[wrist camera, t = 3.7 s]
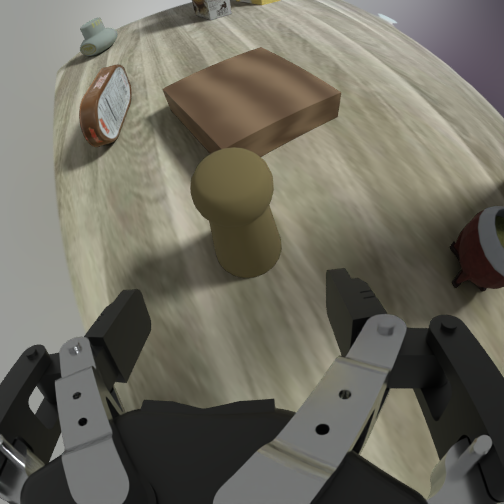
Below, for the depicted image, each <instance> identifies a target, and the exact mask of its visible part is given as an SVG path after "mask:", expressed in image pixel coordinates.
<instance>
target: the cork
mask: <svg viewBox="0 0 504 504" xmlns="http://www.w3.org/2000/svg"><path fill="white" fill-rule="evenodd" d="M190 189H191V196H192V199H193V203H194V205H195V207H196V208H197V210H198V211H199V212H200V213H201V215H202V216H203V217H204V218H206V219H207V220H209V223H210V227H211V232H212V237H213V242H214V247H215V252H216V255H217V258H218V261H219V263H220V264H221V266H222V267H223V268H224V269H225V270H226V271H227V272H229V273H231V274H232V275H234V276H238V277H242V278H250V277H257V276H259V275H262V274H265V273H266V272H267V271H268V270H270V269H271V268H272V267H273V266H274V265H275V263H276V262H277V260H278V259H279V256H280V252H281V239H280V236H279V233H278V230H277V227H276V224H275V221H274V218H273V215H272V212H271V209H270V206H269V204H270V201H271V198H272V195H273V191H274V189H273V176H272V173H271V171H270V169H269V168H268V166H267V164H266V162H265V161H264V160H263V159H262V158H261V157H259V156H258V155H257V154H255V153H254V152H252V151H249V150H247V149H243V148H236V147H233V148H224V149H221V150H218V151H215V152H213V153H211V154H210V155H208V156H207V157H205V158H204V159H203V160H202V161H201V162H200V163H199V164H198V166H197V168H196V170H195V172H194V174H193V176H192V178H191V188H190Z"/></svg>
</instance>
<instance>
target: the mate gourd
mask: <svg viewBox="0 0 504 504" xmlns="http://www.w3.org/2000/svg"><path fill="white" fill-rule="evenodd" d="M450 249H451V250H452V252H453V253H454V254H455V256H456V257H457V258H458V260H459V261H460V264H461V267H462V270H461V271H460V272H459V274H458V275H457V276H456V277H455V279H454V280H453V281H452V285H453V286H454V287H455V288H457V287H458V286H459V285H460V284H461V283H462V282H464V281H467V280H469V281H471V282H473V283H474V284H476V285H477V286H478V288H479V289H480V290H481V292H482V291H485V290H486V289H487V288H491V289H497V288H501V287H504V207H502V206H493V207H489V208H486V209H485V210H483V211H481V212H479V213H478V214H476V215H475V216H474V218H473V219H472V220H471V221H470V222H469V223H468V224H467V225H466V226H465V228H464V229H463V230H462V231H461V233H460V235H459V237H458V239H457V241H456V243H455V242H453V243H452V244H451V246H450Z"/></svg>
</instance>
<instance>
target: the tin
mask: <svg viewBox="0 0 504 504" xmlns="http://www.w3.org/2000/svg"><path fill="white" fill-rule="evenodd" d="M130 103H131V85H130V82H129V80H128V77H127V74H126V72H125V69H124V67H123V66H121V65H113V66H110V67H105V68H102V69H101V70H100V71H99V73H98V74H97V76H96V77H95V79H94V81H93V82H92V84H91V85H90V87H89V89H88V90H87V92H86V93H85V95H84V97H83V98H82V101H81V104H80V111H79V118H80V125H81V129H82V132H83V135H84V137H85V138H86V140H87V141H88V143H89V144H90V145H92V146H94V147H100V146H102V145H105V144H109V143H112V142H114V141H115V140H116V139H117V138H118V136H119V133H120V130H121V127H122V125H123V122H124V119H125V117H126V114H127V111H128V109H129V106H130Z"/></svg>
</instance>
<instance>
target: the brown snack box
mask: <svg viewBox="0 0 504 504" xmlns="http://www.w3.org/2000/svg"><path fill="white" fill-rule="evenodd" d="M192 2H193V6H194V10H195V14H196V15H197V16H200V17H203V18H206V19H209V20H213V19H216V18H219V17H222V16H226V15H229V14H232V11H231V5H230V0H192Z"/></svg>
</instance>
